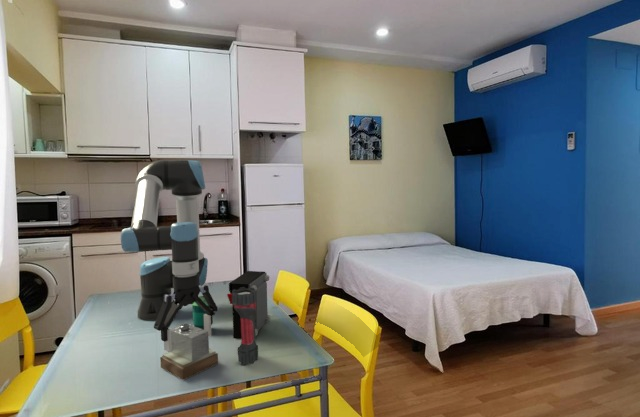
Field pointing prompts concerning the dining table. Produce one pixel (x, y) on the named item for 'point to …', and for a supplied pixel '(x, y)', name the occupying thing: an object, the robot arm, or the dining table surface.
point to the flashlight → (246, 323)
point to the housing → (189, 342)
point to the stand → (187, 364)
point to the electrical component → (260, 286)
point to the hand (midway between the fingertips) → (188, 342)
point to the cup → (199, 314)
